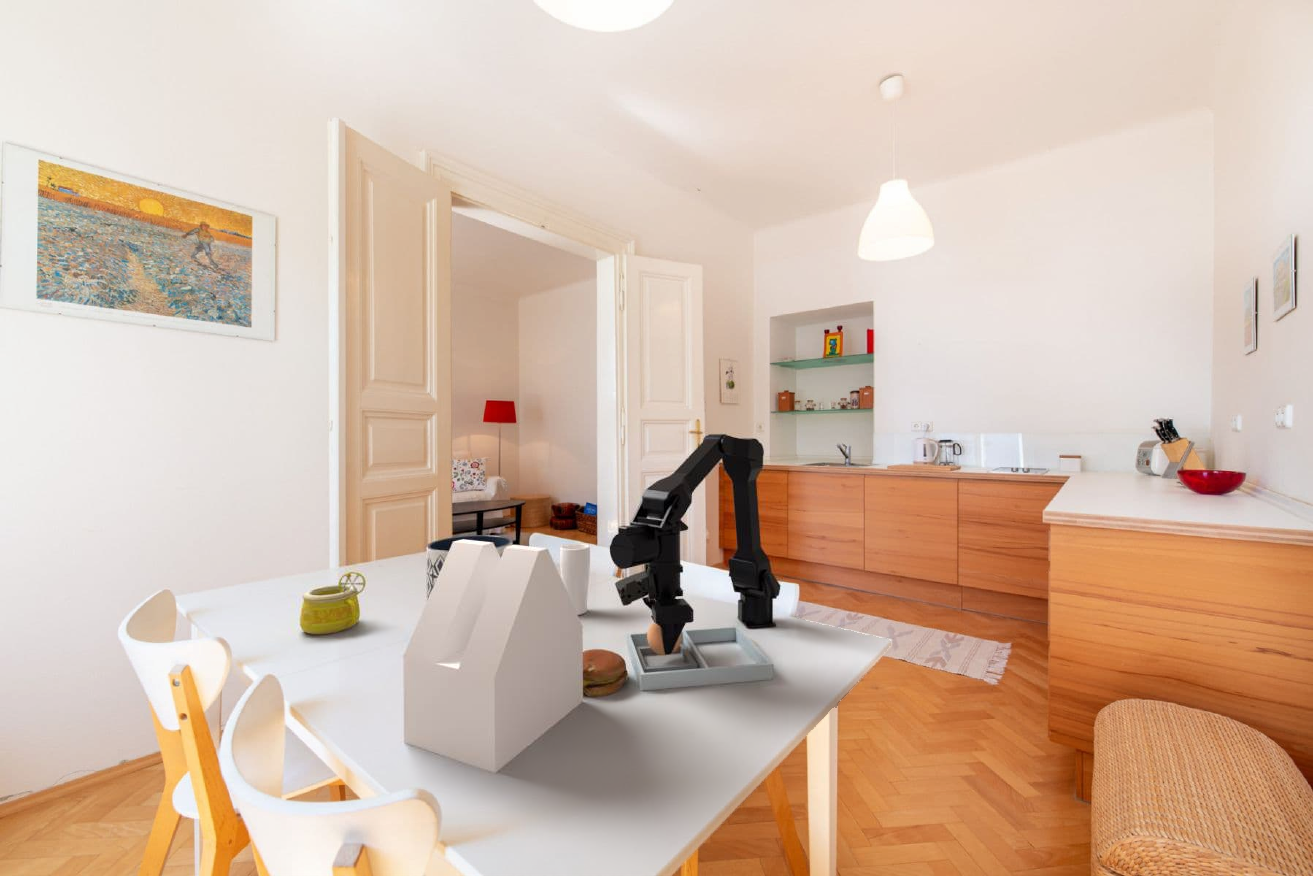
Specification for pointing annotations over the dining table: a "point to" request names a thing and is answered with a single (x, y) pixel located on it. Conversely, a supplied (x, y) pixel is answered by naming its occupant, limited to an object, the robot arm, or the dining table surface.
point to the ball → (658, 640)
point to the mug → (331, 607)
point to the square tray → (665, 660)
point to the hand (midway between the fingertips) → (664, 647)
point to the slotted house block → (492, 655)
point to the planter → (440, 550)
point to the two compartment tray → (702, 661)
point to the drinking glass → (576, 573)
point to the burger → (602, 672)
